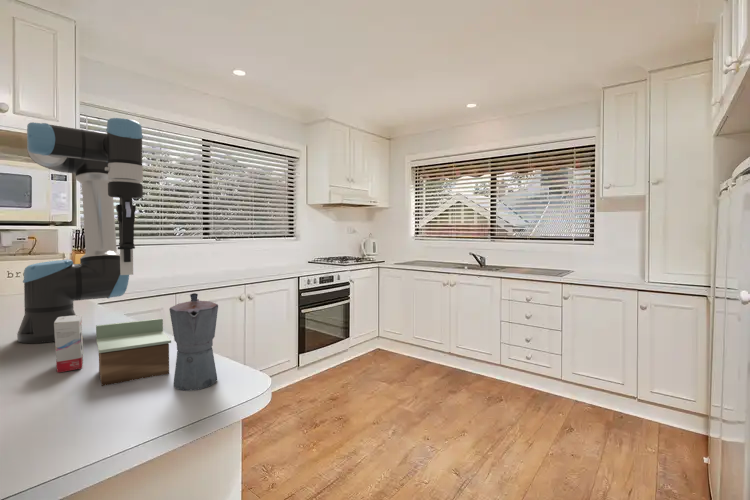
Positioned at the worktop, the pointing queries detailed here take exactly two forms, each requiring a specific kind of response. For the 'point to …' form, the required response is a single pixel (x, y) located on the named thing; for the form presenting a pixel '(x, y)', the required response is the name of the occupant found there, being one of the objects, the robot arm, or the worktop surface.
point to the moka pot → (194, 343)
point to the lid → (130, 335)
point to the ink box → (68, 343)
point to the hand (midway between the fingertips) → (126, 274)
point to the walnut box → (133, 364)
